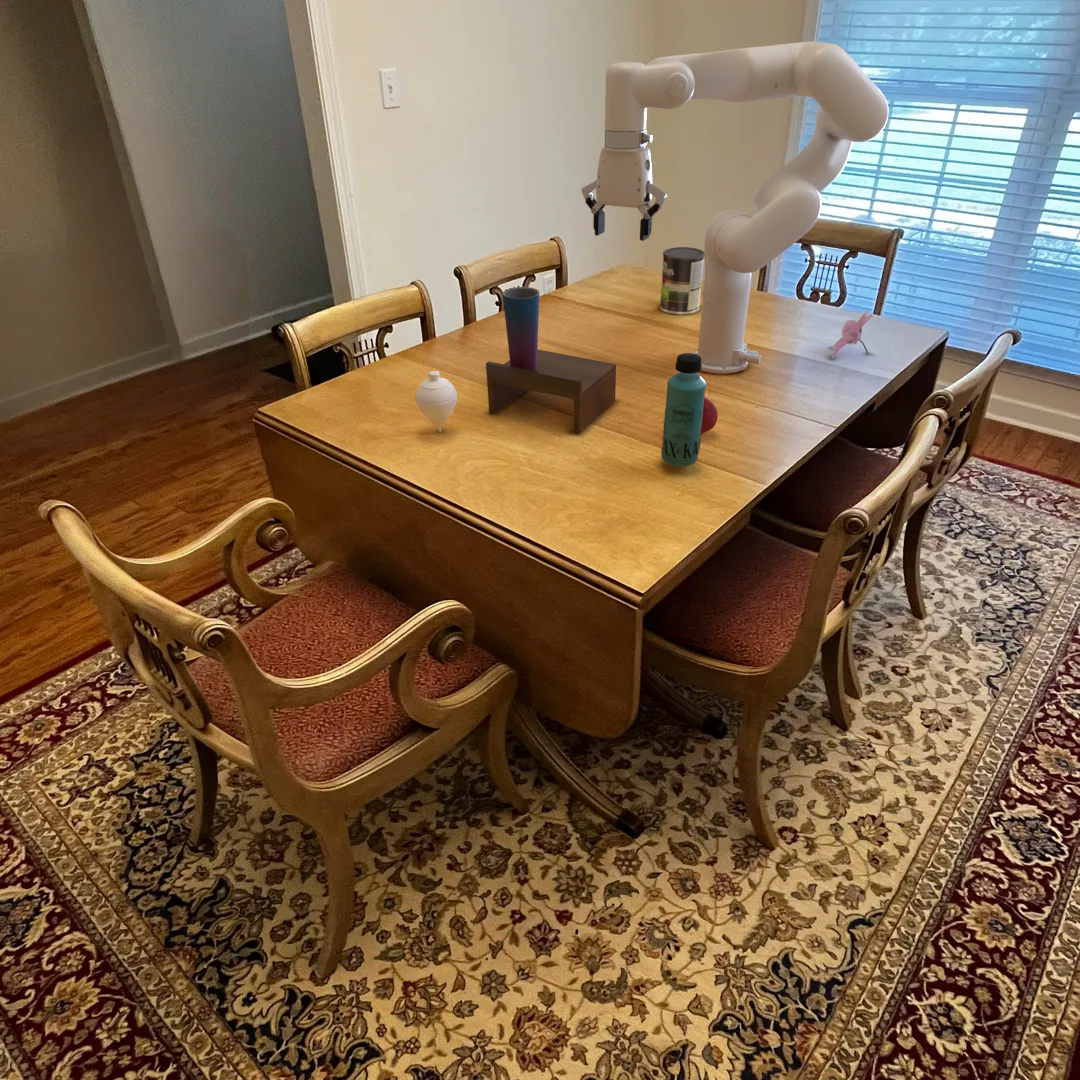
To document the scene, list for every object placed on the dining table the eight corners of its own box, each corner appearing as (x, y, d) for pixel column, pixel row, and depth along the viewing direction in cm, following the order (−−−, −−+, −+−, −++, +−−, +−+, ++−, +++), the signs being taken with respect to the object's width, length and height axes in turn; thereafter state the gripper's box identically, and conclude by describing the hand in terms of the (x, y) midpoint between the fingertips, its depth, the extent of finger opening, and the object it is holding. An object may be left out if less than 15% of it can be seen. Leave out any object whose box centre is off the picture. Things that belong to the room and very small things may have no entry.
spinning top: (443, 444, 147) (437, 384, 140) (411, 435, 150) (403, 375, 143) (468, 428, 152) (463, 369, 145) (436, 419, 155) (430, 361, 148)
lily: (845, 344, 185) (831, 309, 180) (896, 335, 176) (883, 298, 172) (827, 376, 180) (812, 341, 175) (878, 368, 171) (864, 331, 166)
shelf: (529, 383, 168) (527, 335, 162) (615, 401, 160) (616, 351, 154) (489, 413, 157) (485, 362, 151) (579, 434, 149) (579, 381, 143)
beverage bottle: (656, 458, 140) (663, 349, 129) (693, 455, 141) (703, 347, 129) (664, 476, 135) (672, 365, 124) (702, 474, 135) (714, 362, 124)
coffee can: (668, 316, 201) (672, 259, 193) (654, 304, 209) (657, 249, 201) (706, 312, 203) (711, 255, 195) (690, 300, 211) (695, 245, 203)
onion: (717, 429, 149) (722, 389, 144) (712, 443, 145) (717, 402, 140) (686, 425, 151) (690, 386, 146) (681, 438, 146) (684, 398, 142)
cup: (537, 377, 151) (535, 299, 142) (502, 375, 152) (498, 297, 144) (544, 363, 156) (542, 287, 148) (510, 362, 158) (507, 286, 149)
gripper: (676, 139, 146) (670, 236, 156) (591, 135, 153) (590, 228, 163) (660, 145, 141) (655, 245, 150) (573, 140, 148) (574, 236, 157)
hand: (621, 236), depth 157 cm, fingers open, 9 cm apart
